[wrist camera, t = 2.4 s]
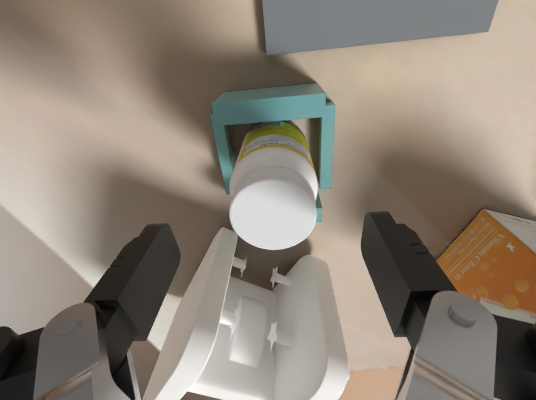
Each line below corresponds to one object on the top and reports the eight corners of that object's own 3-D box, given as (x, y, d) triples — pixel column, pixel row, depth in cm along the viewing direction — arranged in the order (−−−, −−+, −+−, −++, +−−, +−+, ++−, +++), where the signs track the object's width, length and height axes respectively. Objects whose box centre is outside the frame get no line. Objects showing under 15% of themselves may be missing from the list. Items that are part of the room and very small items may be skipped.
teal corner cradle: (333, 81, 15) (345, 91, 12) (328, 194, 20) (336, 221, 17) (209, 93, 16) (193, 105, 13) (231, 200, 21) (223, 226, 18)
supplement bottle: (283, 188, 20) (284, 269, 13) (231, 157, 19) (201, 230, 12) (321, 139, 18) (348, 207, 10) (265, 101, 16) (253, 149, 9)
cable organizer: (228, 205, 21) (184, 347, 11) (330, 249, 23) (366, 399, 14) (180, 298, 29) (128, 431, 19) (260, 324, 31) (252, 454, 21)
